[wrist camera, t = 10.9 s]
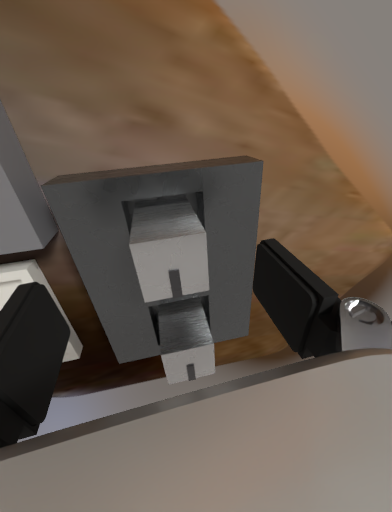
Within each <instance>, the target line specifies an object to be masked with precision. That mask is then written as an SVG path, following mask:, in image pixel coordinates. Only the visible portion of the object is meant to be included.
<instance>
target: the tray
mask: <svg viewBox="0 0 392 512" xmlns="http://www.w3.org/2000/svg"><path fill="white" fill-rule="evenodd" d="M31 282H38V283H39V284H43V285H45V287H46V288H47V290H48V292H49V293H50V295H51V297H52V298H53V300H54V302H55V303H56V305H57V307H58V309H59V310H60V312H61V314H62V315H63V317H64V319H65V320H66V322H67V324H68V325H69V327H70V337H69V341H68V344H67V347H66V351H65V354H64V358H63V361H62V362H65V361H70V360H75V359H80V355H81V352H82V348H83V345H82V344H81V342H80V340H79V338H78V336H77V335H76V333H75V331H74V329H73V327H72V326H71V324H70V322H69V320H68V318H67V316H66V315H65V313H64V311H63V309H62V307H61V306H60V304H59V302H58V300H57V298H56V297H55V295H54V293H53V291H52V289H51V288H50V286H49V284H48V282H47V280H46V278H45V277H44V275H43V273H42V271H41V269H40V268H39V266H38V264H37V262H36V260H35V259H32V260H26V261H19V262H13V263H6V264H0V311H1V309H2V308H3V306H4V305H5V304H6V302H7V301H8V299H9V298H10V296H11V295H12V293H13V292H14V291H15V289H16V288H17V286H18V285H21V284H26V283H31Z"/></svg>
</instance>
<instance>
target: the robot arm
mask: <svg viewBox="0 0 392 512" xmlns="http://www.w3.org/2000/svg"><path fill="white" fill-rule="evenodd" d="M253 292H254V294H255V295H256V297H257V298H258V300H259V301H260V303H261V304H262V306H263V307H264V309H265V310H266V312H267V313H268V315H269V316H270V318H271V319H272V321H273V322H274V324H275V325H276V327H277V328H278V330H279V331H280V333H281V334H282V336H283V337H284V338H285V340H286V341H287V343H288V344H289V346H290V347H291V349H292V350H293V351H294V352H298V354H299V355H300V357H301V358H302V359H303V358H307V357H311V356H314V357H315V358H313V359H308V360H304V361H301V362H297V363H293V364H289V365H286V366H282V367H278V368H275V369H271V370H268V371H264V372H261V373H257V374H254V375H250V376H246V377H243V378H239V379H236V380H232V381H228V382H225V383H222V384H218V385H214V386H211V387H207V388H204V389H200V390H197V391H194V392H190V393H186V394H183V395H179V396H176V397H173V398H169V399H165V400H162V401H158V402H155V403H151V404H148V405H145V406H141V407H138V408H134V409H130V410H127V411H124V412H120V413H117V414H113V415H110V416H107V417H103V418H100V419H96V420H93V421H89V422H86V423H82V424H79V425H76V426H72V427H69V428H65V429H62V430H58V431H55V432H52V433H48V434H45V435H41V436H38V437H35V438H32V439H29V440H25V441H22V442H19V443H17V441H18V439H22V438H26V437H30V436H33V435H36V434H37V431H38V428H39V425H40V423H42V422H43V421H44V419H45V417H46V415H47V411H48V407H49V404H50V401H51V398H52V394H53V391H54V388H55V384H56V381H57V378H58V374H59V371H60V368H61V364H62V361H63V358H64V354H65V351H66V347H67V344H68V341H69V337H70V327H69V325H68V324H67V322H66V320H65V319H64V317H63V315H62V314H61V312H60V310H59V309H58V307H57V305H56V303H55V302H54V300H53V298H52V297H51V295H50V293H49V292H48V290H47V288H46V287H45V285H43V284H39V283H38V282H31V283H26V284H21V285H18V286H17V288H16V289H15V291H14V292H13V293H12V295H11V296H10V298H9V299H8V301H7V302H6V304H5V305H4V306H3V308H2V309H1V311H0V512H392V321H391V320H390V318H389V316H388V314H387V313H386V312H385V310H384V309H383V308H381V307H380V306H378V305H377V304H375V303H373V302H371V301H369V300H366V299H363V298H356V297H351V298H350V297H349V298H346V299H343V300H342V301H341V300H340V299H339V298H338V295H339V294H337V293H336V292H335V291H334V290H333V289H332V288H331V287H329V286H328V285H327V284H326V283H325V282H324V281H322V280H321V279H320V278H319V277H318V276H317V275H316V274H314V273H313V272H312V271H311V270H310V269H309V268H308V267H306V266H305V265H304V264H303V263H302V262H301V261H300V260H298V259H297V258H296V257H295V256H294V255H293V254H292V253H290V252H289V251H288V250H287V249H286V248H285V247H284V246H282V245H281V244H280V243H279V242H278V241H277V240H275V239H267V240H262V241H261V242H260V244H258V245H257V251H256V261H255V270H254V279H253Z"/></svg>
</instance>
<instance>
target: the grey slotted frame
mask: <svg viewBox="0 0 392 512" xmlns="http://www.w3.org/2000/svg"><path fill="white" fill-rule="evenodd" d="M262 171H263V161H262V160H259V159H255V158H252V157H249V156H238V157H229V158H219V159H210V160H201V161H192V162H182V163H173V164H164V165H154V166H145V167H136V168H126V169H117V170H108V171H98V172H89V173H80V174H70V175H61V176H57V177H55V178H53V179H52V180H50V181H48V182H47V183H45V184H43V185H41V187H42V190H43V192H44V194H45V196H46V199H47V201H48V203H49V205H50V208H51V210H52V212H53V215H54V217H55V219H56V221H57V224H58V226H59V228H60V230H61V233H62V235H63V237H64V240H65V242H66V244H67V246H68V249H69V251H70V253H71V255H72V258H73V260H74V262H75V264H76V267H77V269H78V271H79V274H80V276H81V278H82V280H83V283H84V285H85V287H86V289H87V292H88V294H89V296H90V298H91V301H92V303H93V305H94V308H95V310H96V312H97V314H98V317H99V319H100V321H101V323H102V326H103V328H104V330H105V333H106V335H107V337H108V339H109V342H110V344H111V346H112V348H113V351H114V353H115V355H116V357H117V360H118V362H119V364H120V363H125V362H129V361H134V360H139V359H143V358H148V357H152V356H157V355H161V348H160V333H159V318H158V305H160V304H165V303H170V302H175V301H181V300H186V299H191V298H196V297H199V298H200V301H201V304H202V307H203V311H204V314H205V317H206V320H207V323H208V327H209V330H210V333H211V336H212V339H213V343H216V342H220V341H225V340H229V339H234V338H238V337H243V336H247V335H248V331H249V319H250V308H251V297H252V285H253V274H254V263H255V251H256V240H257V228H258V217H259V206H260V194H261V183H262ZM182 196H186V198H187V199H188V201H189V203H190V205H191V206H192V208H193V210H194V212H195V214H196V215H197V217H198V219H199V221H200V222H201V224H202V226H203V228H204V230H205V231H206V239H207V257H208V275H209V290H208V291H203V292H198V293H193V294H187V295H183V297H178V298H173V297H172V298H167V299H161V300H156V301H151V302H146V303H145V301H144V298H143V294H142V290H141V287H140V283H139V279H138V276H137V272H136V268H135V265H134V261H133V257H132V254H131V250H130V246H129V241H130V234H131V227H132V220H133V212H134V205H135V203H137V202H144V201H152V200H159V199H167V198H174V197H182Z"/></svg>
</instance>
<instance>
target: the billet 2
mask: <svg viewBox="0 0 392 512" xmlns="http://www.w3.org/2000/svg"><path fill="white" fill-rule="evenodd" d="M158 318H159V333H160V348H161V357H162V361H163V365H164V369H165V373H166V377H167V381H168V384H173V383H176V382H181V381H185V380H189V381H190V380H194V379H196V378H197V377H201V376H206V375H210V374H214V373H215V359H214V343H213V339H212V336H211V333H210V330H209V327H208V323H207V320H206V317H205V314H204V311H203V307H202V304H201V301H200V298H199V297H196V298H191V299H186V300H181V301H175V302H170V303H165V304H160V305H158Z"/></svg>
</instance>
